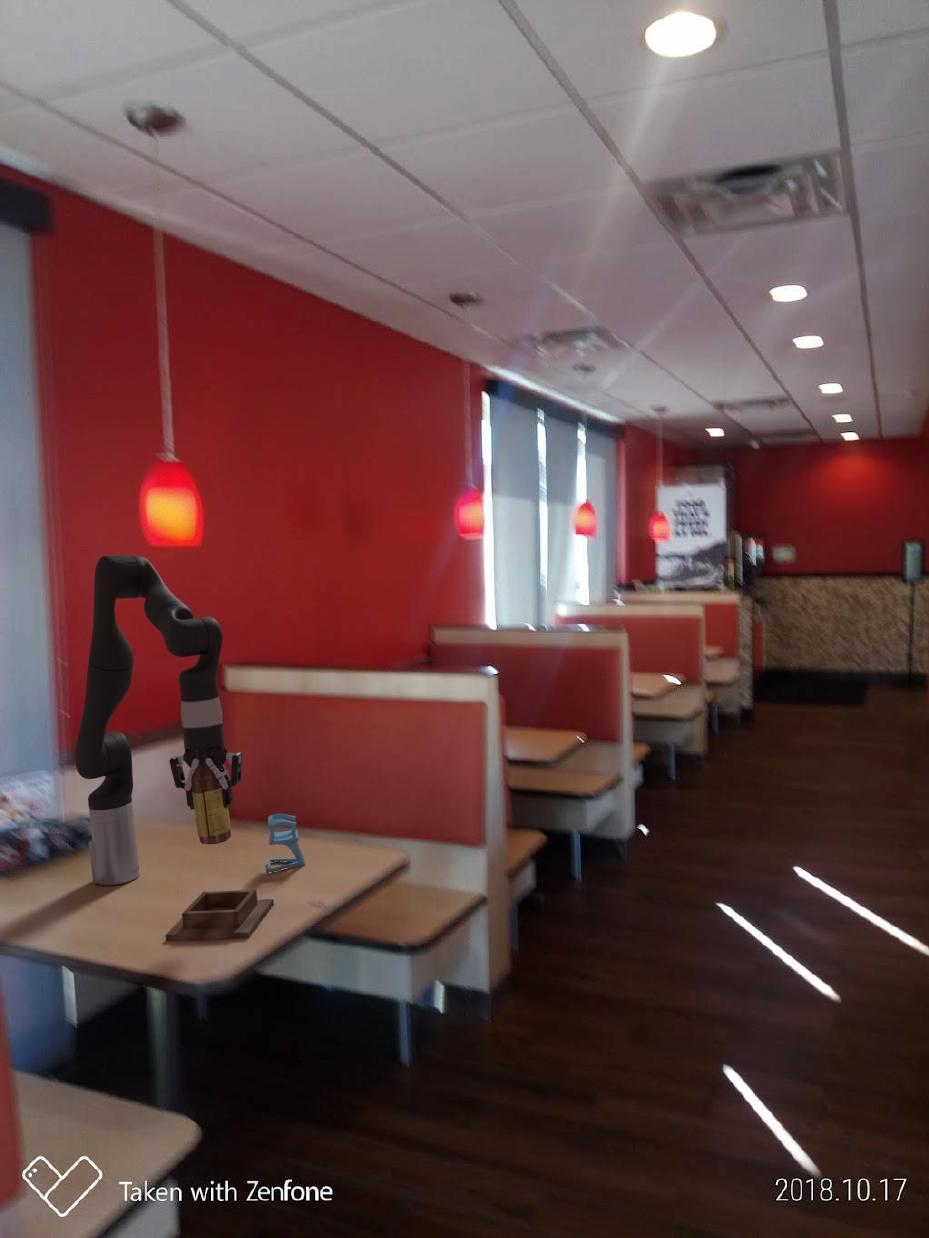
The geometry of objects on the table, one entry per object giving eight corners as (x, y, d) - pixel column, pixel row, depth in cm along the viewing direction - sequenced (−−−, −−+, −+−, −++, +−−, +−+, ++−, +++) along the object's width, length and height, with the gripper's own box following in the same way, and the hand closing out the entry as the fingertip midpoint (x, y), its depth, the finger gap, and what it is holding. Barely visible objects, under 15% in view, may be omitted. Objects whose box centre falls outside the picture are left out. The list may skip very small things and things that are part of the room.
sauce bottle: (236, 834, 184) (226, 735, 183) (225, 845, 178) (215, 742, 176) (204, 836, 185) (194, 737, 183) (191, 846, 179) (181, 744, 177)
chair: (305, 868, 210) (300, 816, 209) (267, 874, 209) (263, 821, 208) (304, 858, 218) (299, 807, 217) (267, 863, 216) (263, 812, 215)
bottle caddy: (166, 941, 176) (163, 919, 175) (197, 907, 191) (195, 887, 191) (248, 938, 174) (246, 916, 174) (274, 904, 190) (272, 884, 190)
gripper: (158, 728, 177) (166, 815, 178) (232, 723, 175) (240, 811, 177) (173, 720, 184) (182, 803, 185) (245, 716, 183) (252, 800, 184)
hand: (210, 807), depth 181 cm, fingers closed on sauce bottle, 6 cm apart
